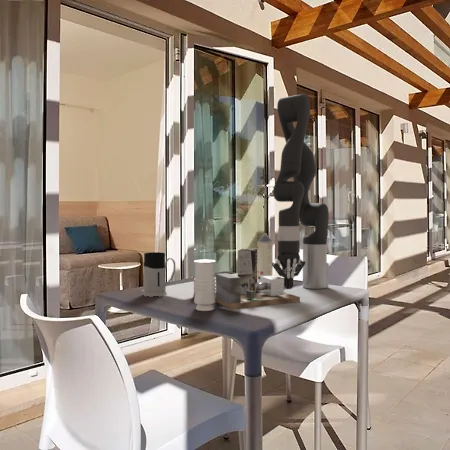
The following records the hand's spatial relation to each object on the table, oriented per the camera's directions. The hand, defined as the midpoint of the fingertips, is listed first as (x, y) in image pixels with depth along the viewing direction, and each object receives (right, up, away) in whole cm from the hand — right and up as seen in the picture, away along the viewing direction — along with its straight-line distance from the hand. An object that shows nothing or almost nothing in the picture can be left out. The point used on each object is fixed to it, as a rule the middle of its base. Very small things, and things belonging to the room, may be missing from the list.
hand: (288, 288), depth 158 cm
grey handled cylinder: (-46, -3, +6) cm, 46 cm away
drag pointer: (-14, -1, -12) cm, 18 cm away
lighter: (-30, -4, +2) cm, 30 cm away
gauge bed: (-11, -4, -6) cm, 13 cm away
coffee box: (-14, -3, +11) cm, 18 cm away
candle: (-29, -4, -16) cm, 33 cm away
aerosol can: (-4, -2, +46) cm, 47 cm away
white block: (-8, -1, -4) cm, 9 cm away
